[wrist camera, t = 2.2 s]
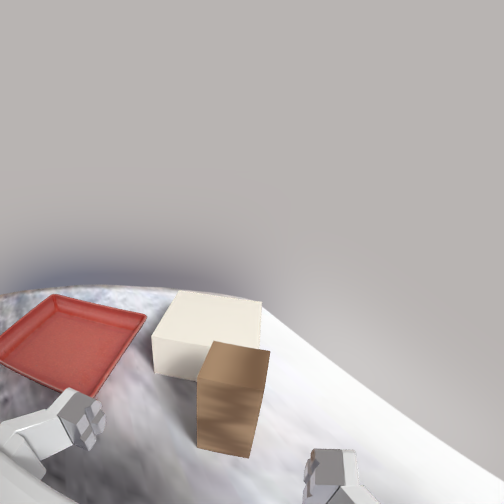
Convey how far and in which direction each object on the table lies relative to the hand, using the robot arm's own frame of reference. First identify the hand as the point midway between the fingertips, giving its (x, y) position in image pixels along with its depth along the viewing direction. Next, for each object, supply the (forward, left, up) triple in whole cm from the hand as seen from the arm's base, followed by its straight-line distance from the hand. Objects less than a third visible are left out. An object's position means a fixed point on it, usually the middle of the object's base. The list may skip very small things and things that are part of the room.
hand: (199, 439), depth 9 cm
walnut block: (0, +12, -16) cm, 20 cm away
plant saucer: (-23, +17, -17) cm, 34 cm away
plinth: (-5, +25, -16) cm, 31 cm away
